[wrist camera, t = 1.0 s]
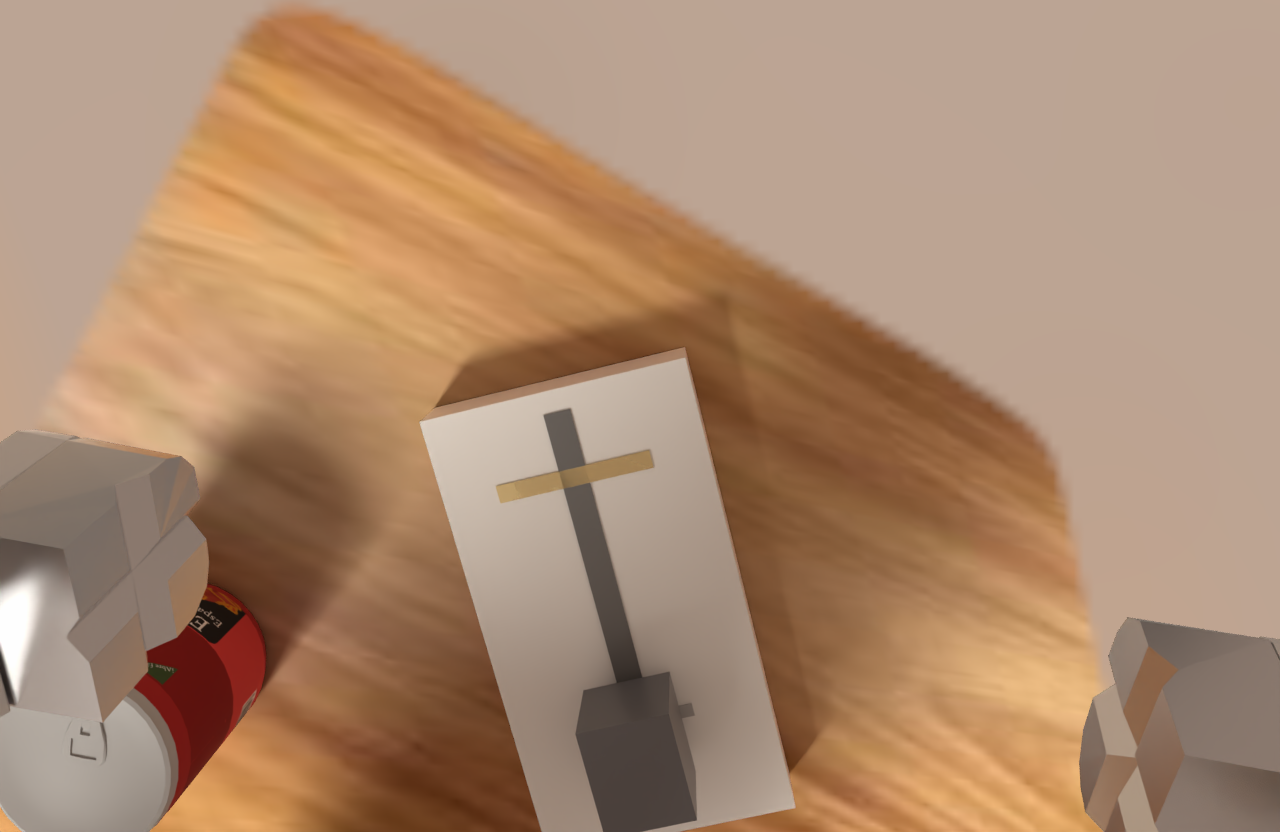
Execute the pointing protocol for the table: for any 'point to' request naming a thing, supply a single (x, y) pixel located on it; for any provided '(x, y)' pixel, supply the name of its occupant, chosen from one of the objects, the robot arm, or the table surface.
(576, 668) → the slider panel
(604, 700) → the block
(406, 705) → the table surface
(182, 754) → the canned food
